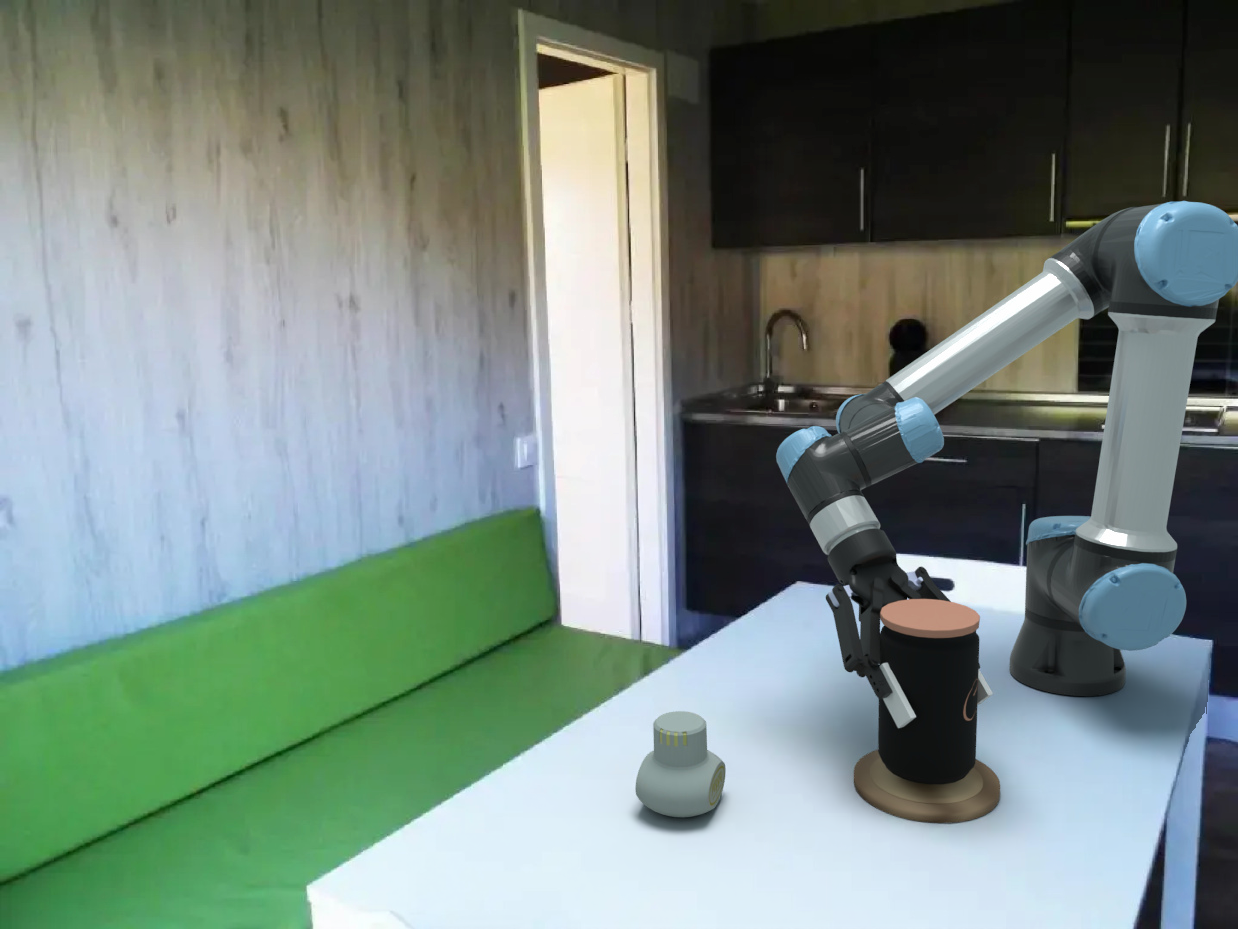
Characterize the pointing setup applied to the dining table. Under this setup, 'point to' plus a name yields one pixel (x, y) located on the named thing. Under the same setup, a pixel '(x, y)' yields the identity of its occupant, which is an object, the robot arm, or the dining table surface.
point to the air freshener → (680, 768)
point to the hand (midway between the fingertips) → (946, 711)
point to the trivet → (927, 793)
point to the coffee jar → (931, 689)
